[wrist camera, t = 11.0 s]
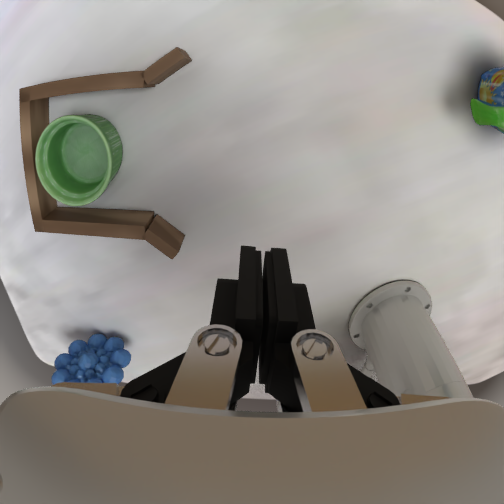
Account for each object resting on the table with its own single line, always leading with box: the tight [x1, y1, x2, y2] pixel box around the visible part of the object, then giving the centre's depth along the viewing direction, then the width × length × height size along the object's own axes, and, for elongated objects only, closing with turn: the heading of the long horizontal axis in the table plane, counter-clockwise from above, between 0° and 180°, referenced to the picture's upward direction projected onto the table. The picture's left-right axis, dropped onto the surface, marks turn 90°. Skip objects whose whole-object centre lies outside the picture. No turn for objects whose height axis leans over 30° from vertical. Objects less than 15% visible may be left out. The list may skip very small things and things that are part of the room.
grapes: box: [52, 334, 131, 385], centre depth 37 cm, size 12×7×12 cm, turn 89°
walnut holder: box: [20, 47, 192, 259], centre depth 26 cm, size 20×17×4 cm
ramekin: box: [35, 114, 122, 206], centre depth 26 cm, size 9×9×4 cm
